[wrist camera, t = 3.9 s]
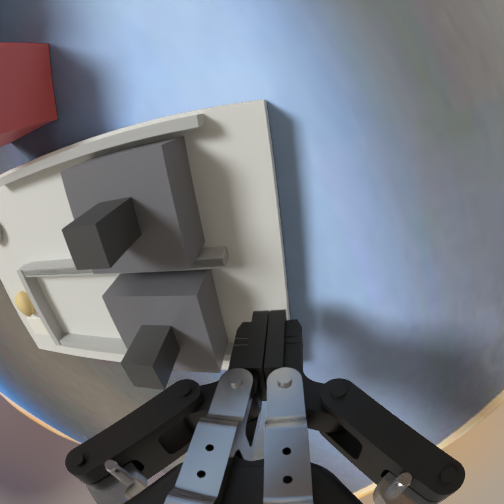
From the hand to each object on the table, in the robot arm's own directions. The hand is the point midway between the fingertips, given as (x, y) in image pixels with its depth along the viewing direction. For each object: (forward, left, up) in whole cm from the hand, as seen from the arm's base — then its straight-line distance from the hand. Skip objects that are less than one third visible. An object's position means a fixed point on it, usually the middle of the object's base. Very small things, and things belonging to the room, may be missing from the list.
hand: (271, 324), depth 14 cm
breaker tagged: (+5, 0, -2) cm, 6 cm away
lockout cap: (+13, -14, -3) cm, 20 cm away
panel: (+10, -2, -3) cm, 11 cm away
